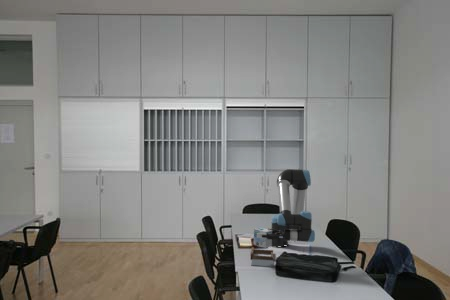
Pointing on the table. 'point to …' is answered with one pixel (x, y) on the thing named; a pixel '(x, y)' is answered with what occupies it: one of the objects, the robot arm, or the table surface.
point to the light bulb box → (262, 241)
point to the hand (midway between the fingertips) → (257, 233)
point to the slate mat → (262, 263)
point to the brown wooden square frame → (261, 253)
